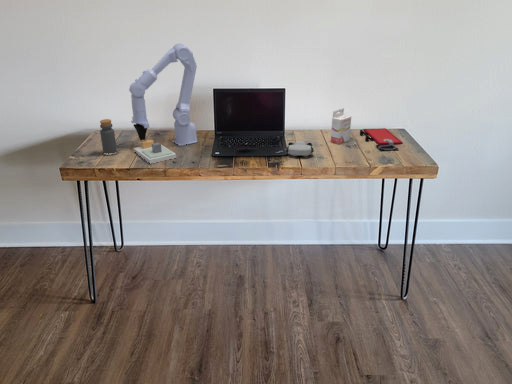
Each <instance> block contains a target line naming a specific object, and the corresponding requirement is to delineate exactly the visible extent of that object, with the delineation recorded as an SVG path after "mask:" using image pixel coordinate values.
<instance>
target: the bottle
mask: <svg viewBox="0 0 512 384" xmlns="http://www.w3.org/2000/svg"><path fill="white" fill-rule="evenodd" d="M99 123H100V125H99V127H100V131H99V132H100V133H99V134H100V140H101V146H102V153H103V152H104V153H108V154H109V153H115V152H117V153H118V148H117V143H116V141H117V140H116V134H115V129H113V123H112V119H109V118H108V119H101V120H99Z"/></svg>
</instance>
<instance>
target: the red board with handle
mask: <svg viewBox="0 0 512 384" xmlns="http://www.w3.org/2000/svg"><path fill="white" fill-rule="evenodd" d="M363 130H364V131H363ZM363 130H362V129H360V130H359V136H360V137H363V136H365V138H364V139H365V142H369V140H370V141H374V143H376V144H375V147H377V148H378V149H379V150H381V151H382V150H383V151H384V150H385V151H387V150H388V151H389V150H399V148H398V147H397V145H398V146H399V145H401V144H402V145H403V144H404V143H403V141H401V140H400V138H398V137H397V136H396V135H394V134H393V133H392V132H391V131H389V130H388V129H387V128H385V127H383V128H363ZM369 136H370V137H371V138H370V137H369Z"/></svg>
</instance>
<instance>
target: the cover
mask: <svg viewBox="0 0 512 384" xmlns="http://www.w3.org/2000/svg"><path fill="white" fill-rule="evenodd" d="M161 145H162V144H161V143H160V142H159V141H158V142H154V143H153V144H152V149H148V150H143V151H142V153H144V154H145V155H146V156H148V157H149V158H151V159H152V158H157V157H161V156H166V155H170V154H173V151H172V150H170V149H169V148H167V147H166V148H167V149H166V148H165V146H164V145H163V146H164V147H163V146H162V147H161ZM168 149H169V150H168ZM171 151H172V152H171Z"/></svg>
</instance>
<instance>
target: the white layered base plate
mask: <svg viewBox="0 0 512 384" xmlns="http://www.w3.org/2000/svg"><path fill="white" fill-rule="evenodd" d="M162 146H163V147H165V146H164V145H162V144H161V147H162ZM165 148H166V149H168V150H170V149H169V148H167V147H165ZM132 149H133V152H134V151H135V152H136V153H137V154H138V155H139V156H141V157H142V158H143V159H142V158H141V157H140V158H141V159H142V160H144V159H145V160H146V161H147V162H146V161H145V160H144V161H145V162H146V163H148V162H149V163H150V164H149V163H148V164H149V165H152V164H151V163H155V164H157V163H156V162H159V163H161V162H160V161H163V162H165V161H164V160H167V161H170V160H169V159H172V160H175V159H174V158H176V159H177V154H176V153H175V152H173V151H172V150H170V151H171V152H173V154H170V155H166V156H161V157H157V158H152V159H151V158H149V157H148V156H146V155H145V154H144V153H142V151H143V150H148V149H152V147H149V148H142V147H141V146H138V147H133V148H132ZM137 154H136V155H137ZM138 155H137V156H138ZM139 156H138V157H139Z"/></svg>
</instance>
